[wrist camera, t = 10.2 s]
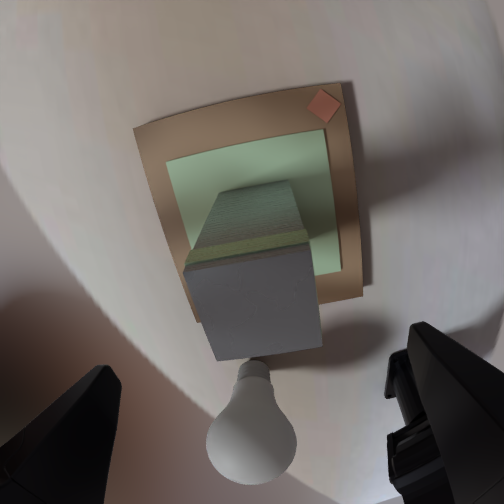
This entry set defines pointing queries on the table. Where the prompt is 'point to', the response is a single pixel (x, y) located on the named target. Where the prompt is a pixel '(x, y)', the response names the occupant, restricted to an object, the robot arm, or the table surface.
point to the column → (255, 275)
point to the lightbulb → (251, 431)
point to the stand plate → (261, 174)
